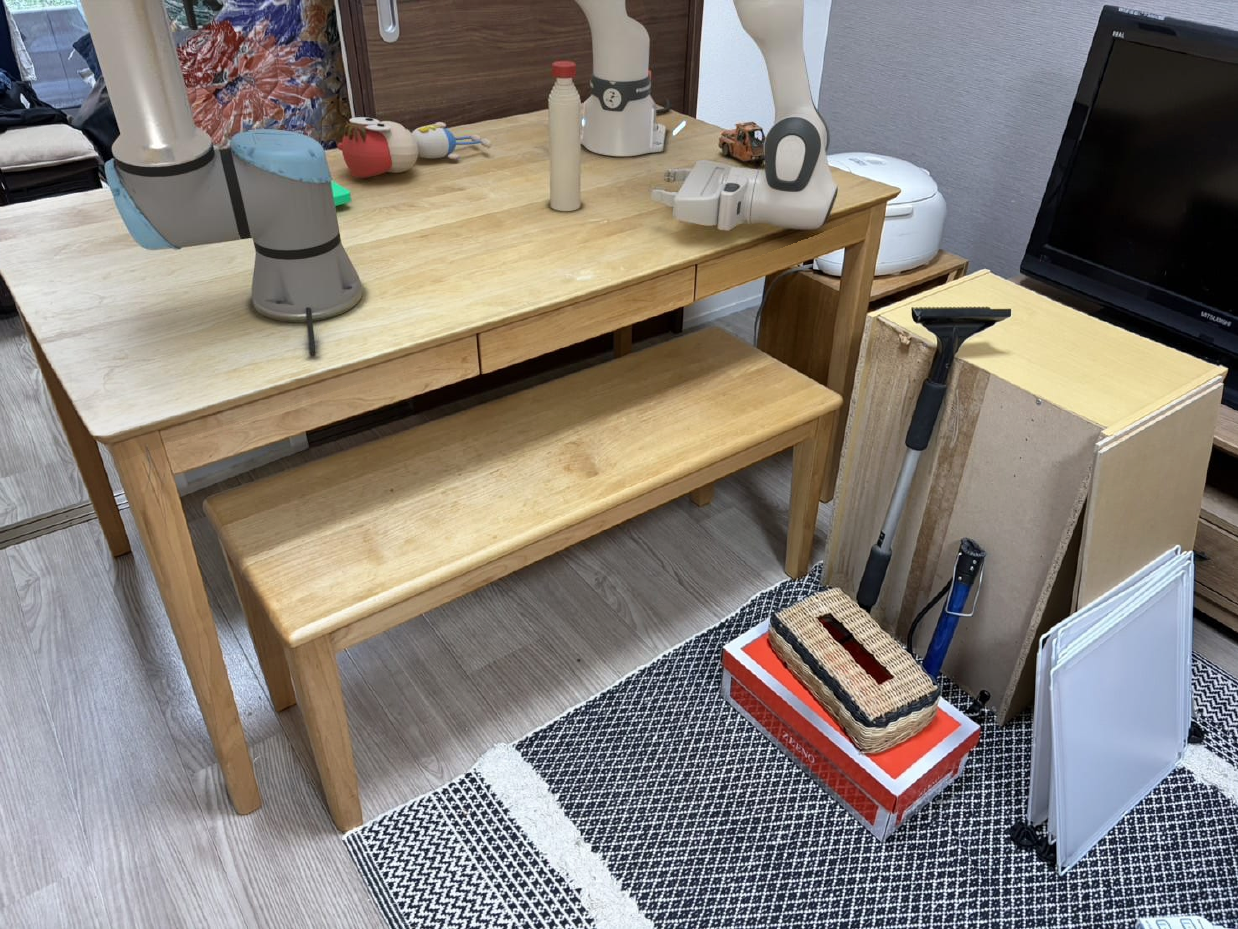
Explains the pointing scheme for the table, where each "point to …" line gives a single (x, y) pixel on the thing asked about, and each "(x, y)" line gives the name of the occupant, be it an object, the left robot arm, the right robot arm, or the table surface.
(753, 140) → the toy car
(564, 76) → the cap
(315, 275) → the left robot arm
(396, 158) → the toy
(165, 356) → the table surface
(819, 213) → the right robot arm
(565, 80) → the bottle
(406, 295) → the table surface
